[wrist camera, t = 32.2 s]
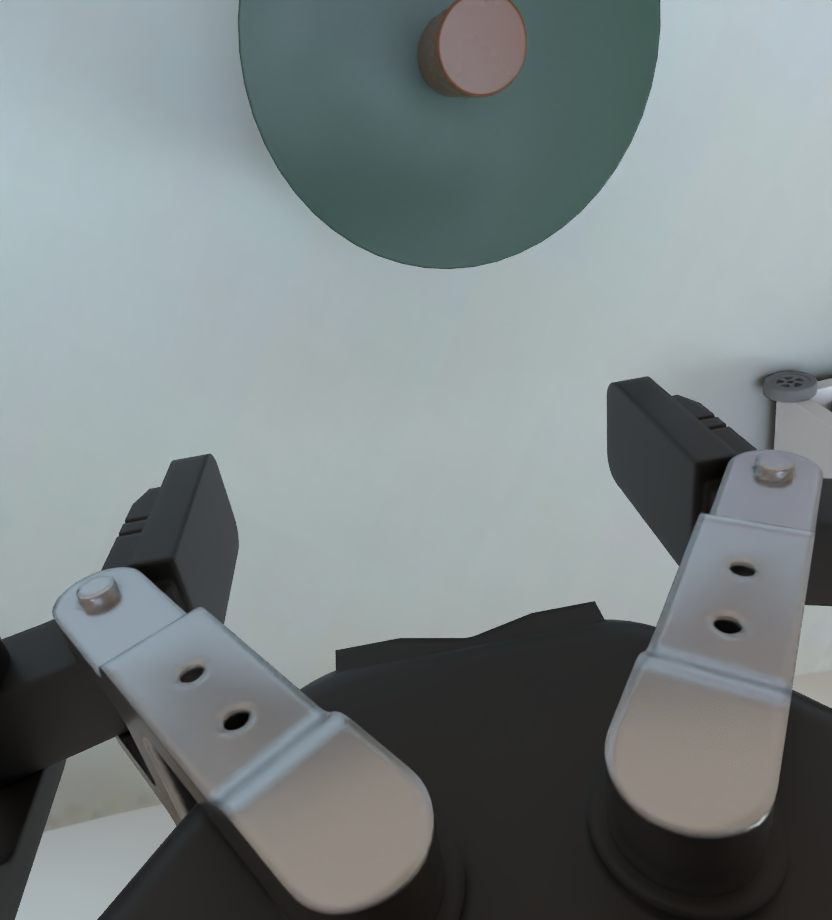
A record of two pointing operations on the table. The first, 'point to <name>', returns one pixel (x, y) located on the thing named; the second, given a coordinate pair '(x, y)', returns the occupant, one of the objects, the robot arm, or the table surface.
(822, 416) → the toy car
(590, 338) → the table surface
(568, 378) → the table surface
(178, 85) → the table surface
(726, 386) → the table surface
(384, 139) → the lid
